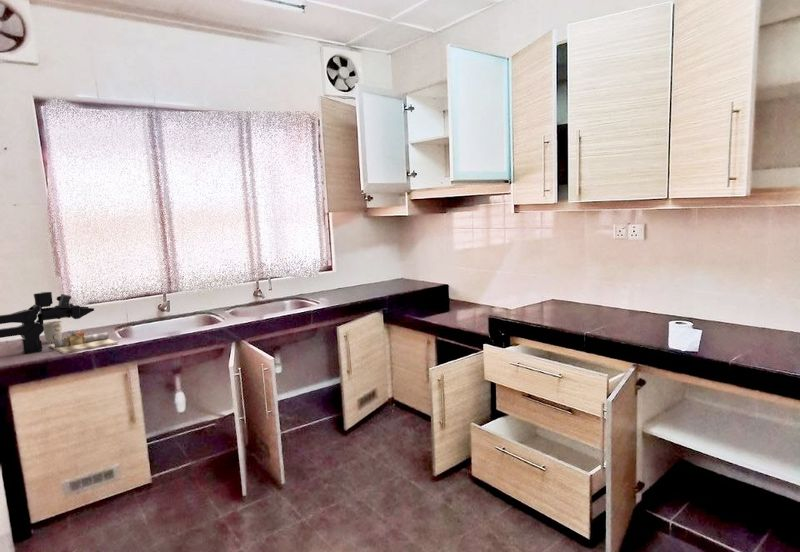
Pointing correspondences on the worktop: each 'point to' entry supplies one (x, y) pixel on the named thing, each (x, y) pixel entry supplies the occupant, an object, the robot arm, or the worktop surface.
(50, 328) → the mug
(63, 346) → the valve board
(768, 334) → the worktop surface
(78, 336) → the valve lever
